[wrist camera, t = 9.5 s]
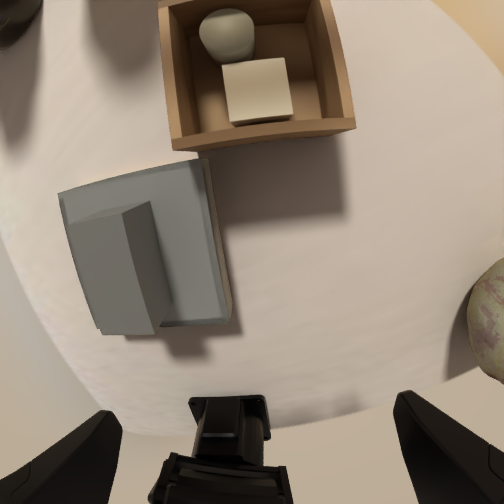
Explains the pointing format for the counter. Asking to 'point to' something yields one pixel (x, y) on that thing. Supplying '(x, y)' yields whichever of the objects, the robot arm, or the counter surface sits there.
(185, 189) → the lid
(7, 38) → the supplement bottle
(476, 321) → the fruit
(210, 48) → the storage box
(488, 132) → the counter surface
